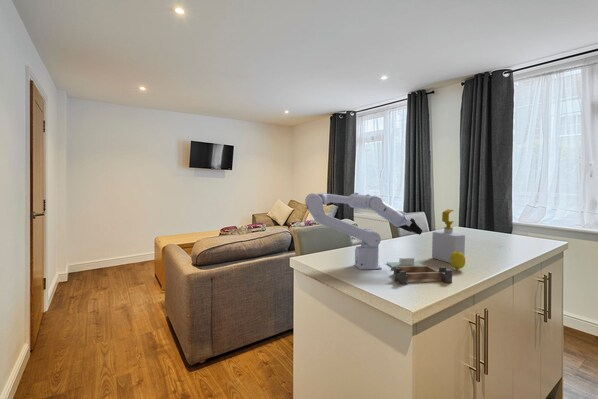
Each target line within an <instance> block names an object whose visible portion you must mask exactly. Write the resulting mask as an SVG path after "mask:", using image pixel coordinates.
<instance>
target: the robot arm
mask: <svg viewBox="0 0 598 399" xmlns="http://www.w3.org/2000/svg"><path fill="white" fill-rule="evenodd" d="M304 201H305V206H306V209H307V211H308V212H309V214H310V215H311V216H312V218H313V219H314V221H315V222H316V223H318V224H320V225H322V226H325V227H327V228H330V229H332V230H335V231H337V232H340V233H342V234H345V235H347V236H350V237H353V238H356V239H357V240H359V241H361V243H360V245H359V246H358V245H357V246H355V249H354V266H356V267H357V269H359V270H382V266H380V265H379V250H380V249H379V245H380V244H381V239H382V238H381V235H380V234H379V233H378V232H375V231H373V230H372V229H370V228H362V227H359V226H356V225H353V224H351V223H349V222H346V221H343V220H341V219H339V218H336V217H334V216H330V215H329V214H326V212H325V210H324V206H326V205H328V204H330V203H334V204H347V205H348V206H349V207H350V208H352V209H353V208H354V209H355V208H356V209H363V210H366V209H367V210H371V211H373V212H375V213H377V215H379V216H380V217H382V218H383V219H384V220H386V221H387V222H389V223H390V224H392V225H393V226H394V228H399V229H403V230H404V231H407V232H409V233H414V234H415V235H419V236H421V234H422V233H423V229H421V227H420V226H419V225H418V224H417V223H416V220H415V219H414V218H413V217H412V218H410V219H408V218H407V216H406V215H407V212H405V211H402V213H401V211H398V210H397V209H396V208H394V207H393V206H391V205H389V204H388V203H385V201H383V200H382V198H381V197H379V196H375V195H370V194H359V192H354V193H351V194H350V195H348V196H346V195H339V194H335V193H333V194H332V193H309V194H308V195H306V197H305V200H304Z"/></svg>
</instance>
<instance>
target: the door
mask: <svg viewBox="0 0 598 399" xmlns="http://www.w3.org/2000/svg"><path fill="white" fill-rule="evenodd" d="M398 259H399V261H395V262H393V261H392V262H386V265H387V266H389V267H390V268H391V269H390V270H391V271H392V272H394V267H398V266H425V265H424V264H422V263H421V262H418V261H415V257H399V258H398Z"/></svg>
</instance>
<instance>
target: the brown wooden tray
mask: <svg viewBox="0 0 598 399" xmlns="http://www.w3.org/2000/svg"><path fill="white" fill-rule="evenodd" d="M393 275H394V281H395V282H396V283H397V284H399V285H400V286H402V285H408V283H415V282H416V283H419V282H423V283H424V282H442V283H444V284H453V270H452V269H447V267H446V266H439V267H438V269H436V268H434V267H432V266H430V265H424V266H398V267H394V271H393Z"/></svg>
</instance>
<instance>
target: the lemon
mask: <svg viewBox="0 0 598 399" xmlns="http://www.w3.org/2000/svg"><path fill="white" fill-rule="evenodd" d="M449 264H450V266H451V267H452V268H453V269H455V270H456V271H459V270H461V269H463V268H464V267H465V265H466V257H465V255H463V254H462V253H461V252H459V251H456V252H453V253H452V254H451V256H450V263H449Z"/></svg>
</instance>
